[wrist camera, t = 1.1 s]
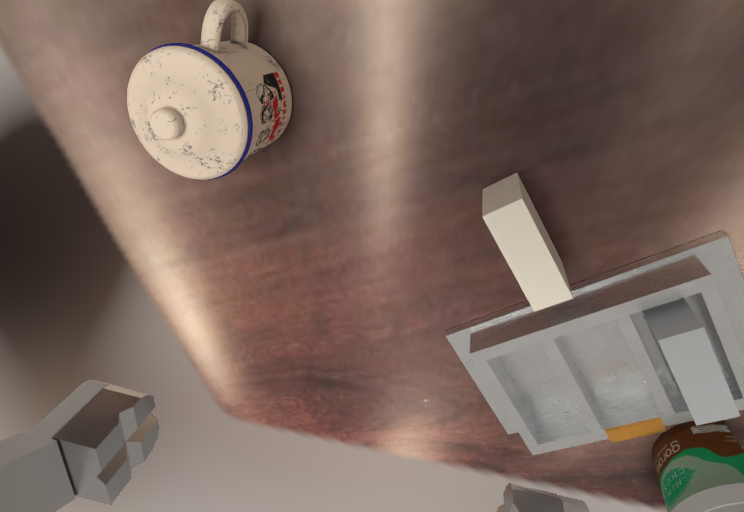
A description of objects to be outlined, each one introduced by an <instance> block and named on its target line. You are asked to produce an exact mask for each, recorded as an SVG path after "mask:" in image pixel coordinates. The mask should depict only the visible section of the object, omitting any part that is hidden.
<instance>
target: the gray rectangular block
mask: <svg viewBox="0 0 744 512" xmlns="http://www.w3.org/2000/svg"><path fill="white" fill-rule="evenodd" d="M642 313H643V316H644V318H645V320H646V322H647V324H648V326H649V329H650V331H651V333H652V335H653V337H654V340H655V342H656V344H657V346H658V348H659V351H660V353H661V355H662V357H663V359H664V362H665V364H666V366H667V368H668V370H669V372H670V375H671V377H672V379H673V380H674V382H675V384H676V386H677V388H678V390H679V392H680V394H681V396H682V398H683V400H684V402H685V404H686V406H687V408H688V410H689V412H690V414H691V416H692V418H693V420H694V422H695V424H696V426H697V425H702V424H706V423H711V422H716V421H721V420H725V419H730V418H735V417H739V416H740V414H739V411H738V409H737V406H736V404H735V402H734V399H733V397H732V394H731V392H730V389H729V387H728V384H727V382H726V380H725V377H724V375H723V372H722V370H721V367H720V365H719V362H718V360H717V358H716V355H715V353H714V350H713V348H712V345H711V343H710V340H709V338H708V336H707V333H706V331H705V328H704V326H703V325H702V323H701V322H700V321H699V319H698V318H697V316H696V315H695V313H694V312H693V310H692V309H691V307H690V306H689V305H688V303H687V302H686V300H685V299H684V298H681V299H678V300H675V301H672V302H669V303H665V304H662V305H659V306H656V307H653V308H650V309H646V310H643V311H642Z"/></svg>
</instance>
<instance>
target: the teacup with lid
mask: <svg viewBox="0 0 744 512" xmlns="http://www.w3.org/2000/svg"><path fill="white" fill-rule="evenodd" d="M228 15H230V19H231V39H230V41H223V42H220V39H221V33H222V28H223V25H224V22H225V20H226V18H227V16H228ZM247 41H248V20H247V16H246V13H245V11H244V9H243V7H242V6H241V5H240V4H239V3H238V2H236V1H234V0H214V1H213V2H212V4H211V5H210V7H209V8H208V10H207V12H206V15H205V18H204V22H203V27H202V34H201V44H198V45H189V44H183V43H171V44H165V45H161V46H159V47H156V48H154V49H153V50H151V51H150V52H148V53H147V54H146V55H145V56H144V57H143V58H142V59H141V60H140V61H139V62H138V64H137V65H136V66H135V68H134V70H133V72H132V74H131V77H130V80H129V84H128V90H127V105H128V111H129V116H130V120H131V123H132V125H133V128H134V130H135V132H136V134H137V136H138V138H139V140H140V141H141V143H142V144H143V146H144V147H145V149H146V150H147V151H148V152H149V153H150V154H151V155H152V157H153V158H154V159H156V160H157V161H158V162H159V163H160V164H162V165H163V166H164V167H166V168H167V169H169V170H171V171H172V172H174V173H177V174H179V175H181V176H184V177H187V178H191V179H200V180H209V179H216V178H220V177H223V176H225V175H227V174H229V173H231V172H232V171H233V170H235V169H236V168H237V167H238V166H239V165H240V164H241V163H242V161H243V160H245V159H246V158H248V157H250V156H251V155H253V154H255V153H256V152H258V151H259V150H261V149H263V148H264V147H266V146H267V145H269V144H271V143H272V142H274V141H275V140H276V139H278V138H279V137H280V135H281V134H282V133H283V132H284V130H285V129H286V127H287V125H288V122H289V120H290V116H291V111H292V96H291V90H290V86H289V83H288V80H287V78H286V76H285V74H284V72H283V70H282V68H281V67H280V66H279V64H278V63H277V62H276V60H275V59H274V58H273V57H272V56H271V55H270V54H269V53H267V52H266V51H265V50H263V49H262V48H260V47H258V46H256V45H254V44H252V43H249V42H247Z"/></svg>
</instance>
